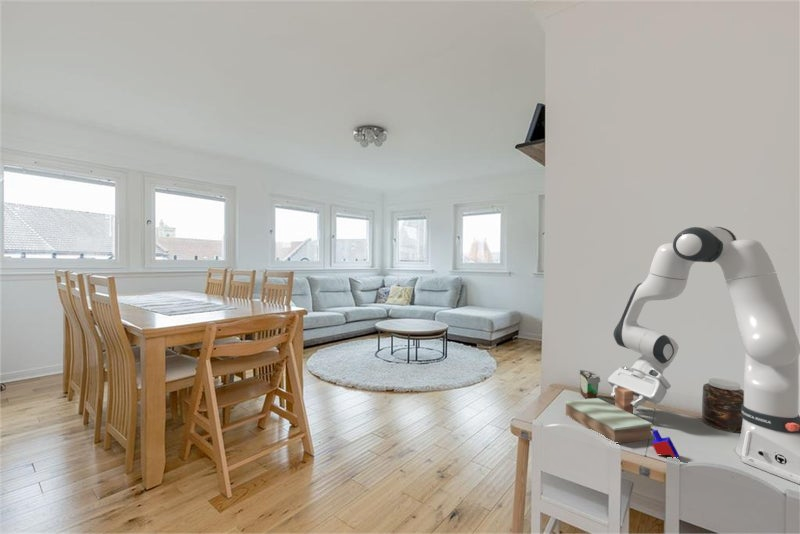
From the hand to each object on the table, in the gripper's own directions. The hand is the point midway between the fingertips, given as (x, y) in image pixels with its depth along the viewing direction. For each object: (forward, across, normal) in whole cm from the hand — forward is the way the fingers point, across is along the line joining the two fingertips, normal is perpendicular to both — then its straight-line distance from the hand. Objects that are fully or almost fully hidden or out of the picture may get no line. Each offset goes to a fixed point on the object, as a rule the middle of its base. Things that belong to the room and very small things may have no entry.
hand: (622, 401), depth 134 cm
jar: (-16, +14, +24) cm, 32 cm away
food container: (+2, -18, +6) cm, 19 cm away
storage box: (+13, +5, -5) cm, 14 cm away
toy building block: (+11, +25, -3) cm, 28 cm away
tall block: (+3, 0, +4) cm, 5 cm away
